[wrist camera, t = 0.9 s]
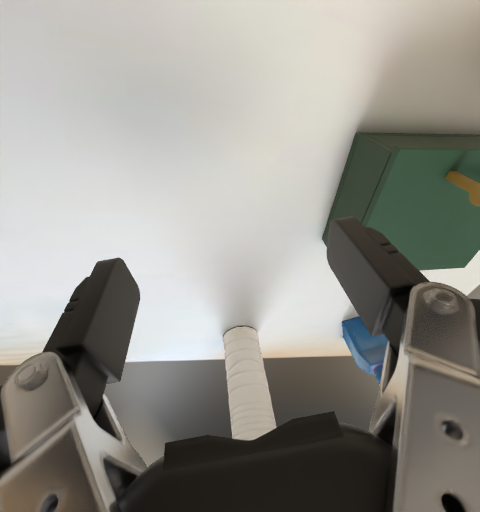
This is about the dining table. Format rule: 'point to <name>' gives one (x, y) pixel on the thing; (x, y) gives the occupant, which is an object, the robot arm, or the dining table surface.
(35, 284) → the dining table surface
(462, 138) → the green storage bin
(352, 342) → the perfume bottle
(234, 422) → the water bottle
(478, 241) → the cover
